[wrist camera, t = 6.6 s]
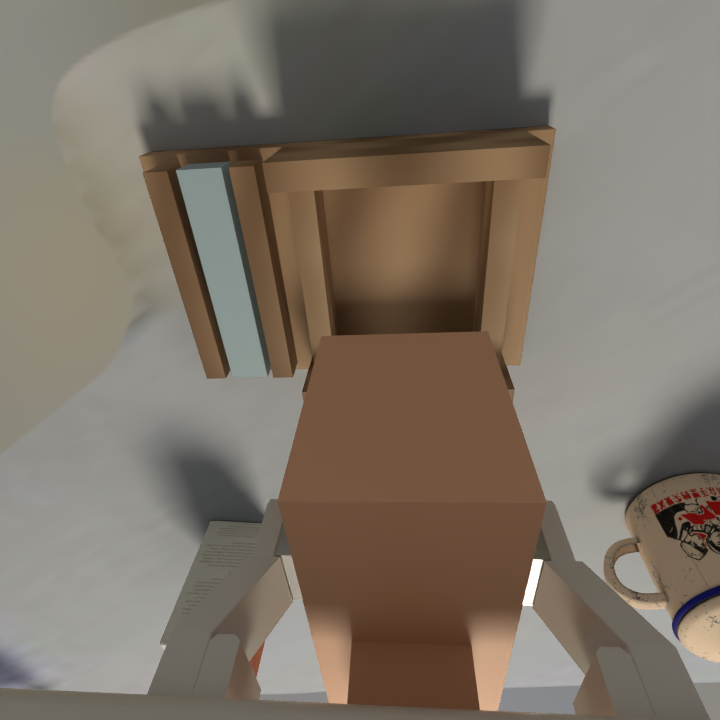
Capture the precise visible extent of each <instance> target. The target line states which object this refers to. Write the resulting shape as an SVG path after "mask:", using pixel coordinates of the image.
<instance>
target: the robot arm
mask: <svg viewBox="0 0 720 720" xmlns="http://www.w3.org/2000/svg"><path fill="white" fill-rule="evenodd" d="M546 502H547V504H546V508H545V512H544V516H543V521H542V525H541V529H540V533H539V538H538V542H537V546H536V550H535V555H534V559H533V563H532V567H531V572H530V576H529V580H528V585H527V589H526V593H525V597H524V602H523V605H530V606H533V607H532V608H533V609H534V610H535V611H536V613H537V614H538V615H539V617H540V618H541V619H542V620H543V622H544V623H545V624H546V625H547V627H548V628H549V629H550V631H551V632H552V633H553V634H554V636H555V637H556V638H557V640H558V641H559V642H560V643H561V645H562V646H563V647H564V649H565V650H566V651H567V652H568V654H569V655H570V656H571V657H572V659H573V660H574V661H575V663H576V664H577V665H578V666H579V668H580V669H581V670H582V672H583V673H584V674H585V675H586V676H585V678H584V680H583V682H582V685H581V687H580V689H579V691H578V693H577V696H576V698H575V700H574V702H573V705H574V709H575V713H576V715H575V714H554V713H552V714H551V713H532V712H531V713H530V712H511V711H510V712H509V711H489V710H468V709H446V708H425V707H404V706H382V705H361V704H339V703H318V702H317V703H316V702H296V701H273V700H259V697H260V692H261V689H260V686H259V684H258V682H257V679H256V677H255V675H254V672H253V670H252V668H251V665H250V663H249V662H250V660H251V659H252V657H253V656H254V655H255V653H256V652H257V650H258V649H259V648H260V646H261V645H262V644H263V642H264V641H265V639H266V638H267V637H268V635H269V634H270V632H271V631H272V630H273V628H274V627H275V626H276V624H277V623H278V621H279V620H280V619H281V617H282V616H283V615H284V613H285V612H286V610H287V609H288V608H289V606H290V605H291V603H292V602H293V601H292V600H303V599H302V595H301V591H300V587H299V583H298V579H297V576H296V572H295V568H294V564H293V560H292V556H291V552H290V548H289V544H288V540H287V536H286V532H285V529H284V525H283V521H282V517H281V513H280V509H279V505H278V499H270V501H269V503H268V504H267V507H266V510H265V514H264V517H263V521H262V524H261V528H260V531H259V535H258V538H257V542H256V545H255V549H254V552H253V556H246V557H245V558H244V559H243V560H242V561H241V562H240V563H239V564H238V565H237V566H236V567H235V568H234V569H233V570H232V571H231V572H230V573H229V574H228V575H227V576H226V577H225V578H224V579H223V580H222V581H221V582H220V583H219V584H218V585H217V586H216V587H215V588H214V589H213V590H212V591H211V592H210V593H209V594H208V595H207V596H206V597H205V598H204V599H203V600H202V601H201V602H200V603H199V604H198V605H197V606H196V607H195V608H194V609H193V610H192V611H191V612H190V613H189V614H188V615H187V616H186V617H185V618H184V619H183V620H182V621H181V622H180V623H179V624H178V625H177V626H176V627H175V628H174V629H173V630H172V632H171V635H170V638H169V640H168V643H167V645H166V648H165V650H164V653H163V655H162V658H161V660H160V663H159V665H158V668H157V671H156V673H155V676H154V678H153V681H152V683H151V686H150V688H149V691H148V693H147V695H144V694H122V693H101V692H79V691H57V690H36V689H14V688H0V720H710V718H709V716H708V714H707V712H706V710H705V708H704V705H703V703H702V701H701V699H700V697H699V695H698V693H697V691H696V689H695V687H694V685H693V682H692V680H691V678H690V676H689V674H688V672H687V670H686V668H685V666H684V663H683V661H682V659H681V657H680V655H679V653H678V651H677V649H676V647H675V646H674V645H673V644H671V643H670V642H669V641H668V640H667V639H666V638H665V637H664V636H663V635H662V634H661V633H659V632H658V631H657V630H656V629H655V628H654V627H653V626H652V625H651V624H650V623H649V622H648V621H646V620H645V619H644V618H643V617H642V616H641V615H640V614H639V613H638V612H637V611H636V610H634V609H633V608H632V607H631V606H630V605H629V604H628V603H627V602H626V601H625V600H624V599H622V598H621V597H620V596H619V595H618V594H617V593H616V592H615V591H614V590H613V589H612V588H610V587H609V586H608V585H607V584H606V583H605V582H604V581H603V580H602V579H601V578H600V577H599V576H597V575H596V574H595V573H594V572H593V571H592V570H591V569H590V568H589V567H588V566H587V565H585V564H584V563H583V562H582V561H575V558H574V555H573V552H572V550H571V547H570V544H569V541H568V539H567V536H566V533H565V531H564V528H563V525H562V522H561V520H560V517H559V514H558V511H557V509H556V506H555V504H554V503H553V502H552V501H546Z"/></svg>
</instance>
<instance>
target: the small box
mask: <svg viewBox="0 0 720 720" xmlns="http://www.w3.org/2000/svg"><path fill="white" fill-rule="evenodd" d="M261 524H262V523H248V522H229V521H211V522H210V523H209V526H208V528H207V531H206V533H205V536H204V538H203V540H202V543H201V545H200V548H199V550H198V552H197V555H196V557H195V559H194V562H193V564H192V567H191V569H190V571H189V574H188V576H187V579H186V581H185V583H184V586H183V588H182V591H181V593H180V595H179V598H178V600H177V603H176V605H175V607H174V610H173V612H172V615H171V617H170V619H169V622H168V624H167V626H166V629H165V631H164V634H163V636H162V639H161V641H160V644H161V646H162V648H163V650H165V648H166V645H167V643H168V640H169V638H170V635H171V632H172V630H173V629H174V628H175V627H176V626H177V625H178V624H179V623H180V622H181V621H182V620H183V619H184V618H185V617H186V616H187V615H188V614H189V613H190V612H191V611H192V610H193V609H194V608H195V607H196V606H197V605H198V604H199V603H200V602H201V601H202V600H203V599H204V598H205V597H206V596H207V595H208V594H209V593H210V592H211V591H212V590H213V589H214V588H215V587H216V586H217V585H218V584H219V583H220V582H221V581H222V580H223V579H224V578H225V577H226V576H227V575H228V574H229V573H230V572H231V571H232V570H233V569H234V568H235V567H236V566H237V565H238V564H239V563H240V562H241V561H242V560H243V559H244V558H245V557H246V556H253V552H254V549H255V545H256V542H257V538H258V535H259V531H260V528H261ZM264 643H265V641H264V642H263V644H262V645H261V646H260V648H259V649H258V650H257V652H256V653H255V655H254V656H253V657H252V659H251V660H250V662H249V663H250V665H251V668H252V670H253V672H254V675H255V677H256V676H257V672H258V668H259V664H260V659H261V655H262V651H263V647H264Z"/></svg>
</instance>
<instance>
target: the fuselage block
mask: <svg viewBox="0 0 720 720" xmlns="http://www.w3.org/2000/svg"><path fill="white" fill-rule="evenodd" d="M546 504H547V502H546V499H545V497H544V494H543V491H542V488H541V485H540V482H539V479H538V476H537V473H536V470H535V467H534V464H533V461H532V458H531V456H530V453H529V450H528V447H527V444H526V441H525V438H524V435H523V432H522V429H521V426H520V423H519V420H518V418H517V415H516V412H515V409H514V406H513V403H512V400H511V397H510V394H509V391H508V388H507V385H506V382H505V379H504V377H503V374H502V371H501V368H500V365H499V362H498V359H497V356H496V353H495V350H494V347H493V344H492V341H491V339H490V336H489V333H488V331H480V332H445V333H410V334H375V335H340V336H321V339H320V343H319V347H318V351H317V354H316V358H315V362H314V366H313V369H312V373H311V377H310V381H309V385H308V388H307V392H306V396H305V400H304V403H303V407H302V411H301V415H300V419H299V422H298V426H297V430H296V434H295V437H294V441H293V445H292V449H291V453H290V456H289V460H288V464H287V468H286V471H285V475H284V479H283V483H282V487H281V490H280V494H279V498H278V505H279V509H280V513H281V517H282V521H283V525H284V529H285V532H286V536H287V540H288V544H289V548H290V552H291V556H292V560H293V564H294V568H295V572H296V576H297V579H298V583H299V587H300V591H301V595H302V599H303V603H304V607H305V611H306V615H307V619H308V622H309V626H310V630H311V634H312V638H313V642H314V646H315V650H316V654H317V658H318V662H319V665H320V669H321V673H322V677H323V681H324V685H325V689H326V693H327V697H328V701H329V703H339V704H361V705H382V706H404V707H425V708H446V709H468V710H489V711H498V708H499V704H500V699H501V695H502V691H503V687H504V682H505V678H506V674H507V670H508V665H509V661H510V657H511V653H512V648H513V644H514V640H515V636H516V631H517V627H518V623H519V619H520V614H521V610H522V606H523V602H524V597H525V593H526V589H527V585H528V580H529V576H530V572H531V567H532V563H533V559H534V555H535V550H536V546H537V542H538V538H539V533H540V529H541V525H542V521H543V516H544V512H545V508H546Z"/></svg>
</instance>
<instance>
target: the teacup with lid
mask: <svg viewBox="0 0 720 720" xmlns="http://www.w3.org/2000/svg"><path fill="white" fill-rule="evenodd" d="M626 526H627V529H628V531H629V533H630V535H631V537H632V538H628V539H623V540H620V541H618V542H616V543H614V544H613V545H612V546H611V547H610V548H609V549H608V551H607V552H606V555H605V558H604V576H605V580H606V582H607V585H608V586H609V587H610V588H612V589H613V590H614V591H615V592H616V593H617V594H618V595H619V596H620V597H621V598H622V599H624V600H625V601H626V602H627V603H628V604H629V605H630V606H632V607H635V608H639V609H646V610H653V609H665V608H666V609H667V611H668V613H669V615H670V617H671V619H672V629H673V632H674V634H675V636H676V638H677V639H678V640H679V641H680V642H681V643H682V644H683V645H684V646H685V647H686V648H687V649H688V650H689V651H691V652H692V653H694V654H695V655H697V656H699V657H701V658H704V659H707V660H710V661H714V662H719V663H720V475H717V474H710V473H693V474H685V475H680V476H675V477H672V478H669V479H666V480H663V481H660V482H658V483H656V484H654V485H652V486H650V487H649V488H647V489H646V490H644V491H643V492H641V493H640V494H639V495H638V496H637V497H636V498H635V499H634V500H633V501H632V503H631V504H630V506H629V508H628V510H627V513H626ZM633 552H639V554H640V556H641V558H642V560H643V562H644V564H645V566H646V568H647V570H648V572H649V574H650V576H651V578H652V580H653V582H654V584H655V586H656V588H657V591H658V593H638V592H635V591H632V590H630V589H628V588H627V587H625V586H624V585H623V584H622V583H621V582H620V581H619V579H618V578H617V576H616V573H615V570H614V564H615V562H616V560H617V559H618V558H619V557H621V556H622V555H625V554H628V553H633Z"/></svg>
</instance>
